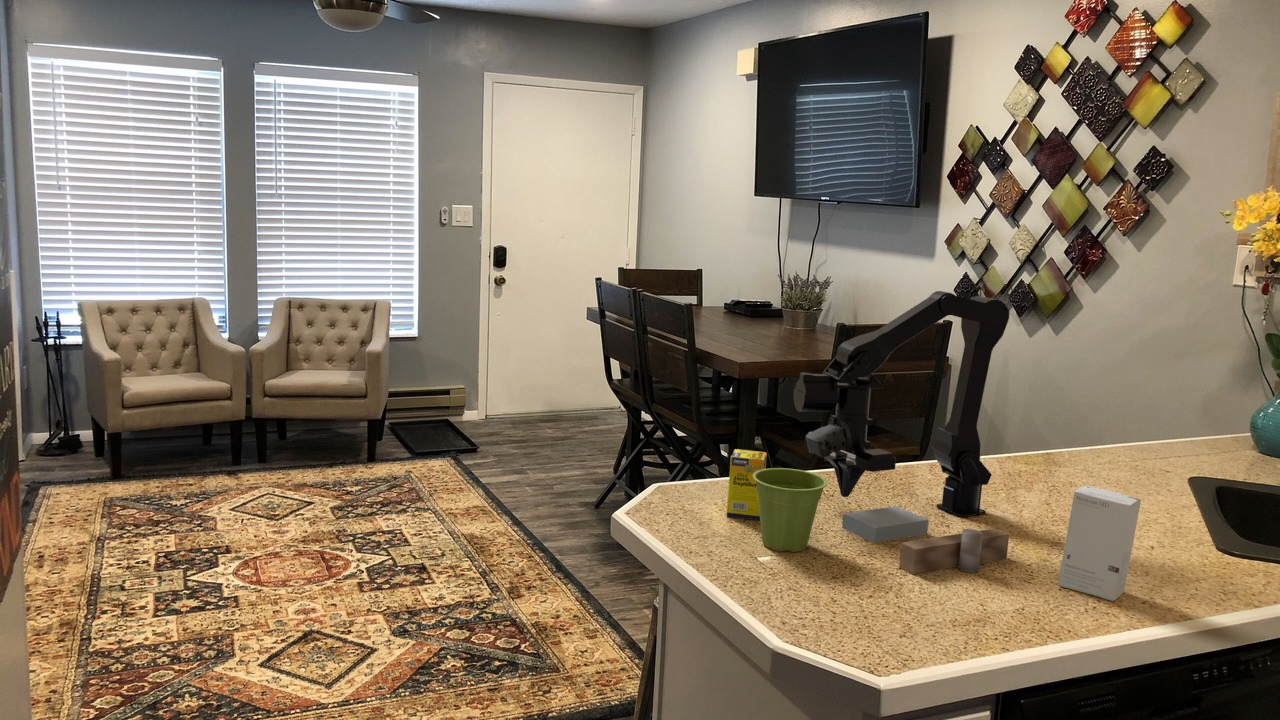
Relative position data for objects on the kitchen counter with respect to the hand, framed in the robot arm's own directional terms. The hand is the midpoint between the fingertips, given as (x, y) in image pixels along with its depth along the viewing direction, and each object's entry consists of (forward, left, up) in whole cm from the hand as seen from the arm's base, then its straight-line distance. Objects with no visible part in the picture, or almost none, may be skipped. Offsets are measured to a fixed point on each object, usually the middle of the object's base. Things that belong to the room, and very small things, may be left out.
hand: (844, 496), depth 179 cm
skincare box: (-12, +43, -3) cm, 45 cm away
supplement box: (+18, -5, -3) cm, 19 cm away
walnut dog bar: (0, +29, -3) cm, 29 cm away
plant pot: (+21, +11, -3) cm, 24 cm away
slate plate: (0, +11, -3) cm, 11 cm away
